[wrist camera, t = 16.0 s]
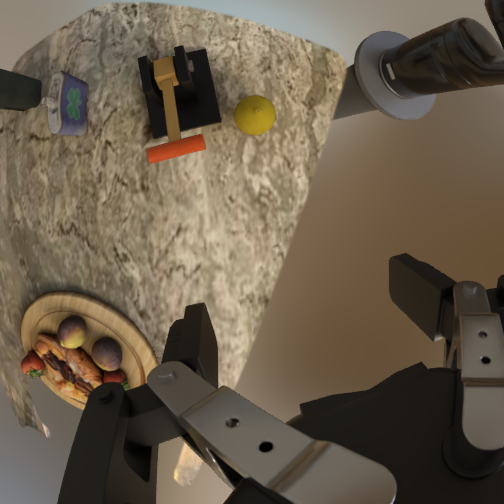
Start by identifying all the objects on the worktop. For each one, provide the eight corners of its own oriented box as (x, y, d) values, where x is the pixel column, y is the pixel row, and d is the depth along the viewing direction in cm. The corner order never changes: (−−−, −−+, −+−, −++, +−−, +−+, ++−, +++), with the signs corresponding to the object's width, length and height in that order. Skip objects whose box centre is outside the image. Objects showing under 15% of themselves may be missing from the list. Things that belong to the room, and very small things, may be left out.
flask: (88, 134, 38) (55, 132, 28) (73, 137, 38) (37, 136, 28) (90, 80, 36) (58, 64, 25) (74, 84, 35) (41, 70, 25)
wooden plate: (36, 385, 53) (24, 407, 45) (18, 270, 44) (-6, 287, 36) (156, 423, 58) (152, 450, 51) (169, 312, 49) (162, 339, 41)
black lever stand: (221, 122, 40) (221, 108, 27) (155, 139, 40) (127, 133, 27) (206, 51, 36) (200, 12, 23) (141, 68, 36) (112, 38, 23)
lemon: (227, 107, 40) (229, 97, 32) (263, 96, 40) (272, 85, 32) (240, 141, 42) (244, 138, 34) (275, 130, 42) (287, 125, 34)
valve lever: (207, 153, 28) (203, 143, 25) (154, 167, 27) (146, 158, 25) (190, 64, 28) (186, 51, 26) (145, 76, 28) (139, 65, 26)
